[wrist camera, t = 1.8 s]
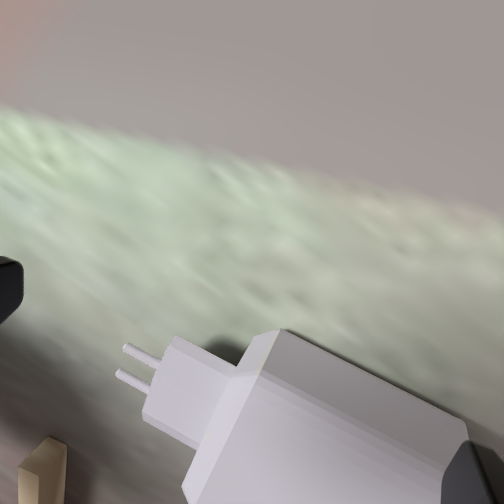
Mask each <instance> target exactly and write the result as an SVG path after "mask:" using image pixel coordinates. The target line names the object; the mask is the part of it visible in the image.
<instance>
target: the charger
mask: <svg viewBox="0 0 504 504" xmlns="http://www.w3.org/2000/svg"><path fill="white" fill-rule="evenodd" d="M123 351H124V352H125V353H127V354H128V355H130V356H132V357H134V358H136V359H138V360H139V361H141V362H143V363H145V364H147V365H149V366H150V367H152V368H154V369H156V372H155V374H154V377H153V380H152V382H151V385H150V384H148V383H147V382H145V381H143V380H141V379H139V378H138V377H136V376H134V375H132V374H130V373H129V372H127V371H125V370H123V369H119V370H117V372H116V377H117V378H118V379H120V380H122V381H124V382H126V383H127V384H129V385H131V386H133V387H134V388H136V389H138V390H140V391H142V392H143V393H145V394H147V397H146V400H145V403H144V406H143V409H142V417H143V420H144V421H145V422H147V423H149V424H151V425H152V426H154V427H156V428H158V429H160V430H161V431H163V432H165V433H167V434H168V435H170V436H172V437H174V438H175V439H177V440H179V441H181V442H182V443H184V444H186V445H188V446H189V447H191V448H193V449H195V450H196V451H197V452H196V455H195V457H194V459H193V461H192V463H191V466H190V468H189V470H188V472H187V475H186V477H185V479H184V481H183V484H182V486H181V487H182V489H183V492H184V494H185V497H186V499H187V502H188V504H440V503H441V483H442V478H443V475H444V472H445V470H446V468H447V467H448V465H449V463H450V462H451V460H452V458H453V457H454V455H455V453H456V452H457V450H458V449H459V447H460V445H461V444H462V443H463V442H464V441H465V440H469V437H468V432H467V427H466V424H465V422H464V421H462V420H460V419H458V418H456V417H454V416H452V415H450V414H449V413H447V412H445V411H443V410H441V409H439V408H437V407H435V406H433V405H431V404H429V403H427V402H425V401H423V400H421V399H419V398H417V397H415V396H413V395H411V394H409V393H407V392H405V391H403V390H401V389H399V388H397V387H395V386H393V385H391V384H390V383H388V382H386V381H384V380H382V379H380V378H378V377H376V376H374V375H372V374H370V373H368V372H366V371H364V370H362V369H360V368H358V367H356V366H354V365H352V364H350V363H348V362H346V361H344V360H342V359H340V358H338V357H336V356H334V355H332V354H331V353H329V352H327V351H325V350H323V349H321V348H319V347H317V346H315V345H313V344H311V343H309V342H307V341H305V340H303V339H301V338H299V337H297V336H295V335H293V334H291V333H289V332H287V331H285V330H283V329H281V328H280V329H277V330H273V331H270V332H266V333H262V334H259V335H255V336H254V338H253V339H252V341H251V343H250V345H249V346H248V348H247V350H246V352H245V353H244V355H243V357H242V359H241V360H240V362H239V364H238V366H237V367H236V366H234V365H232V364H230V363H228V362H226V361H225V360H223V359H221V358H219V357H217V356H215V355H213V354H211V353H209V352H208V351H206V350H204V349H202V348H200V347H198V346H196V345H194V344H193V343H191V342H189V341H187V340H185V339H183V338H181V337H179V336H177V335H174V337H173V339H172V340H171V342H170V344H169V345H168V347H167V350H166V352H165V354H164V356H163V358H162V360H160V359H158V358H156V357H154V356H152V355H150V354H149V353H147V352H145V351H143V350H141V349H139V348H138V347H136V346H134V345H132V344H130V343H126V344H125V345H124V346H123Z"/></svg>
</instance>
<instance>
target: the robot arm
mask: <svg viewBox="0 0 504 504" xmlns="http://www.w3.org/2000/svg"><path fill="white" fill-rule="evenodd" d="M23 296H24V269H23V266H22V264H21V263H20V262H18V261H16V260H13V259H11V258H8V257H5V256H0V324H2V323H3V322H4V321H5V320H6V319H7V318H8V317H9V316H10V315H11V314H12V313H13V312H14V311H15V310H16V309H17V308H18V307H19V306H20V304H21V302H22V300H23ZM440 504H504V462H503V461H502V460H501V458H500V457H499V456H498V455H497V453H496V452H495V451H494V450H493V449H491V448H490V447H487V446H485V445H482V444H480V443H477V442H475V441H472V440H465V441H464V442H463V443H462V444H461V445H460V447H459V449H458V450H457V452H456V453H455V455H454V457H453V458H452V460H451V462H450V463H449V465H448V467H447V468H446V470H445V472H444V475H443V478H442V483H441V503H440Z"/></svg>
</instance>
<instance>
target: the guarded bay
mask: <svg viewBox="0 0 504 504" xmlns="http://www.w3.org/2000/svg"><path fill="white" fill-rule="evenodd" d="M66 461H67V445H65V444H63V443H61V442H59V441H57V440H55V439H53V438H51V437H49V436H48V437H47V438H46V439H45V440H44V441H43V442H42V443H41V444H40V445H39V446H38V447H37V448H36V449H35V450H34V451H33V452H32V453H31V454H30V455H29V456H28V457H27V458H26V459H25V460H24V461H23V462H22V463H21V464H20V465H19V466H18V499H19V504H64V495H65V478H66Z"/></svg>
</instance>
